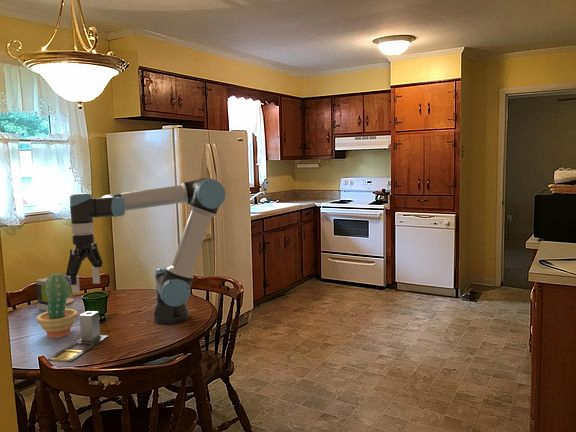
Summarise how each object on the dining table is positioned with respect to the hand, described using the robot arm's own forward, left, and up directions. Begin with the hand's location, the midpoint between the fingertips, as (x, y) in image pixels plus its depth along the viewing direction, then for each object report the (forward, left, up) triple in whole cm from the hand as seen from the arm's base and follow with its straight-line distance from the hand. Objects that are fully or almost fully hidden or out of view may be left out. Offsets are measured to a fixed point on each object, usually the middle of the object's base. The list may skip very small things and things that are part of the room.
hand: (86, 287), depth 188 cm
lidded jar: (+29, -24, -21) cm, 43 cm away
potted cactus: (+18, -6, -21) cm, 28 cm away
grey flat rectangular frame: (0, +7, -21) cm, 22 cm away
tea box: (+40, -35, -21) cm, 57 cm away
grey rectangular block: (0, 0, -21) cm, 21 cm away
